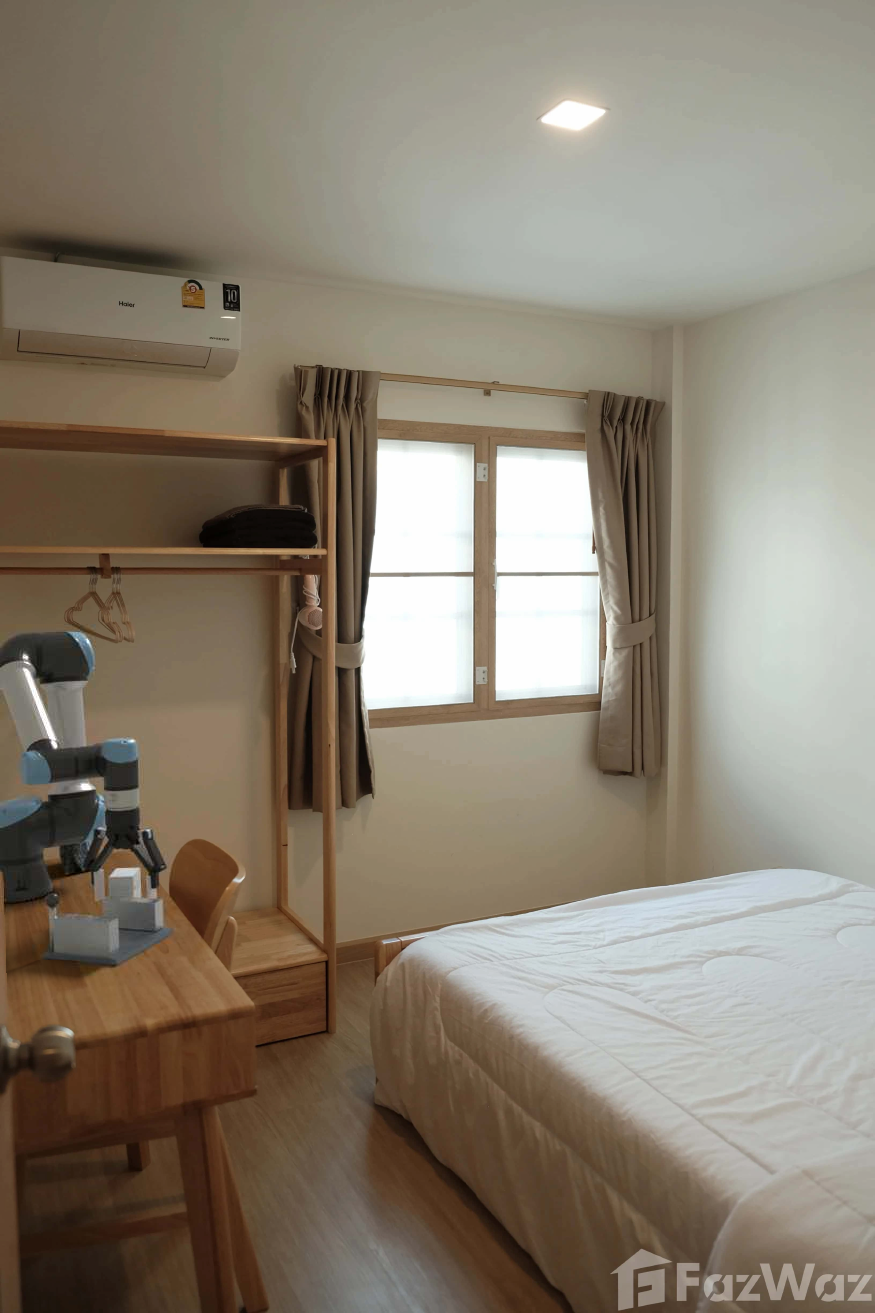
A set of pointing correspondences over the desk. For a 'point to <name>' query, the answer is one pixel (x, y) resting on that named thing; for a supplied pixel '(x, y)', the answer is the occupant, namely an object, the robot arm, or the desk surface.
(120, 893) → the small box
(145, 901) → the jaw
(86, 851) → the stone block
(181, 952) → the desk surface
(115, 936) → the vise
